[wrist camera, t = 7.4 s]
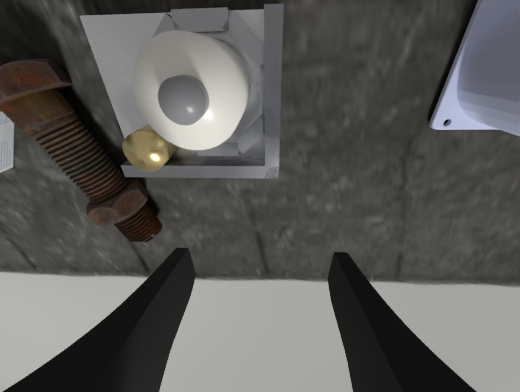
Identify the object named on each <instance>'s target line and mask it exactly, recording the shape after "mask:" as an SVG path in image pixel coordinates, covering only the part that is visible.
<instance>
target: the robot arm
mask: <svg viewBox="0 0 520 392" xmlns="http://www.w3.org/2000/svg"><path fill="white" fill-rule="evenodd" d="M447 119H448V121H447V123H446V124H444V125H443V123H444V121H445V120H447ZM429 125H430V127H431V128H433V129H436V130H473V129H500V130H503V131H506V132H509V133H512V134H514V135H517V136H520V0H478V2H477V4H476V7H475V9H474V12H473V14H472V17H471V19H470V22H469V24H468V27H467V29H466V32H465V34H464V37H463V39H462V42H461V44H460V47H459V49H458V52H457V55H456V57H455V60H454V62H453V65H452V67H451V70H450V72H449V75H448V77H447V80H446V82H445V85H444V87H443V90H442V92H441V95H440V97H439V100H438V102H437V105H436V107H435V110H434V112H433V115H432V118H431V120H430V124H429ZM195 276H196V273H195V269H194V266H193V262H192V259H191V255H190V252H189V248H176V249H175V250H174V251H173V252H172V253H171V254H170V255H169V256H168V258H167V259H166V260H165V261H164V262H163V263H162V264H161V265H160V266H159V267H158V268H157V269H156V270H155V271H154V272H153V273H152V275H151V276H150V277H149V278H148V279H147V280H146V281H145V282H144V283H143V284H142V285H141V286H140V287H139V288H138V289H137V290H136V291H135V292H134V293H132V294H131V295H130V296H129V297H128V298H127V299H126V300H125V301H124V302H123V303H122V304H121V305H120V306H119V307H117V308H116V309H115V310H114V311H113V312H112V313H111V314H110V315H108V316H107V317H106V318H105V319H104V320H102V321H101V322H100V323H99V324H98V325H96V326H95V327H94V328H93V329H91V330H90V331H89V332H88V333H86V334H85V335H84V336H82V337H81V338H80V339H78V340H77V341H76V342H75V343H73V344H72V345H71V346H69V347H68V348H67V349H65V350H64V351H63V352H61V353H60V354H58V355H57V356H56V357H54V358H53V359H51V360H50V361H49V362H47V363H46V364H44V365H43V366H41V367H40V368H38V369H37V370H35V371H34V372H32V373H31V374H29V375H28V376H26V377H25V378H24V379H22V380H20V381H19V382H17V383H16V384H14V385H12V386H11V387H9V388H8V389H6V390H5V391H3V392H159V390H160V386H161V382H162V378H163V375H164V371H165V367H166V364H167V360H168V357H169V353H170V350H171V347H172V344H173V341H174V339H175V336H176V333H177V331H178V328H179V325H180V323H181V320H182V317H183V315H184V312H185V309H186V307H187V304H188V301H189V298H190V296H191V292H192V288H193V284H194V280H195ZM328 284H329V291H330V297H331V302H332V306H333V309H334V313H335V317H336V320H337V324H338V328H339V331H340V334H341V338H342V342H343V345H344V349H345V353H346V357H347V361H348V367H349V372H350V377H351V383H352V388H353V392H476V391H475V390H474V389H473V388H472V387H470V386H469V385H468V384H467V383H466V382H465V381H464V380H463V379H462V378H460V377H459V376H458V375H457V374H456V373H455V372H454V371H453V370H452V369H450V368H449V367H448V366H447V365H446V364H445V363H444V362H443V361H442V360H441V359H439V358H438V357H437V356H436V355H435V354H434V353H433V352H432V351H431V350H430V349H429V348H428V347H427V346H426V345H425V344H424V343H423V342H422V341H421V340H420V339H419V338H418V337H417V336H416V335H415V334H414V333H413V332H412V331H411V330H410V329H409V328H408V327H407V326H406V325H405V324H404V323H403V321H402V320H401V319H400V318H399V317H398V316H397V315H396V314H395V313H394V311H393V310H392V309H391V308H390V307H389V306H388V305H387V304H386V302H385V301H384V300H383V299H382V297H381V296H380V295H379V294H378V292H377V291H376V290H375V289H374V288H373V287H372V285H371V284H370V282H369V281H368V280H367V279H366V277H365V276H364V275H363V273H362V272H361V271H360V269H359V268H358V267H357V265H356V264H355V262H354V261H353V260H352V258H351V257H350V255H349V254H348V253H346V252H334V255H333V259H332V263H331V267H330V271H329V276H328Z"/></svg>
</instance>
